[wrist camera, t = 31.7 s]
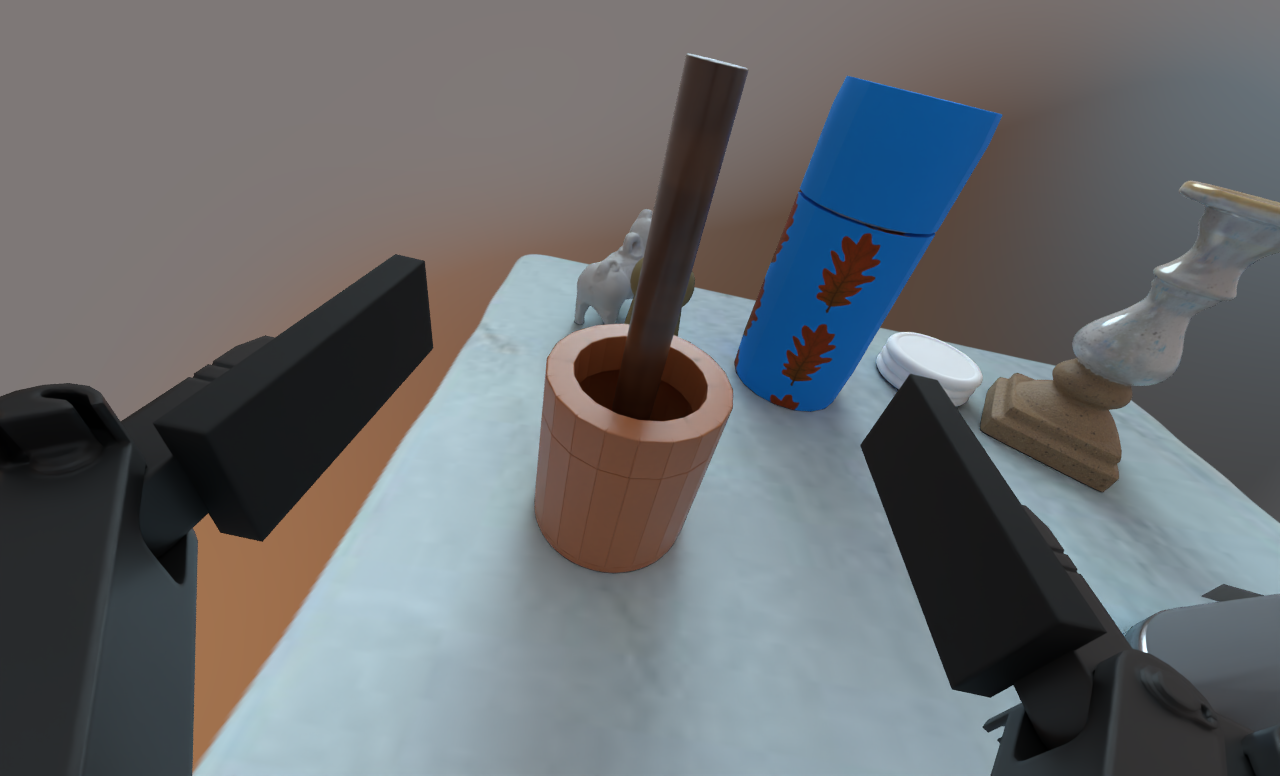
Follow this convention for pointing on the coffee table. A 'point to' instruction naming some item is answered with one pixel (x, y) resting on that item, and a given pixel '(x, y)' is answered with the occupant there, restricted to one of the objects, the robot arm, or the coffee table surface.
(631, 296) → the dog figurine
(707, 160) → the dark long rod
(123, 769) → the robot arm
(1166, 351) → the candle holder
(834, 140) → the thermos
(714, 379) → the orange pencil cup
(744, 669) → the coffee table surface
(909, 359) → the coaster
